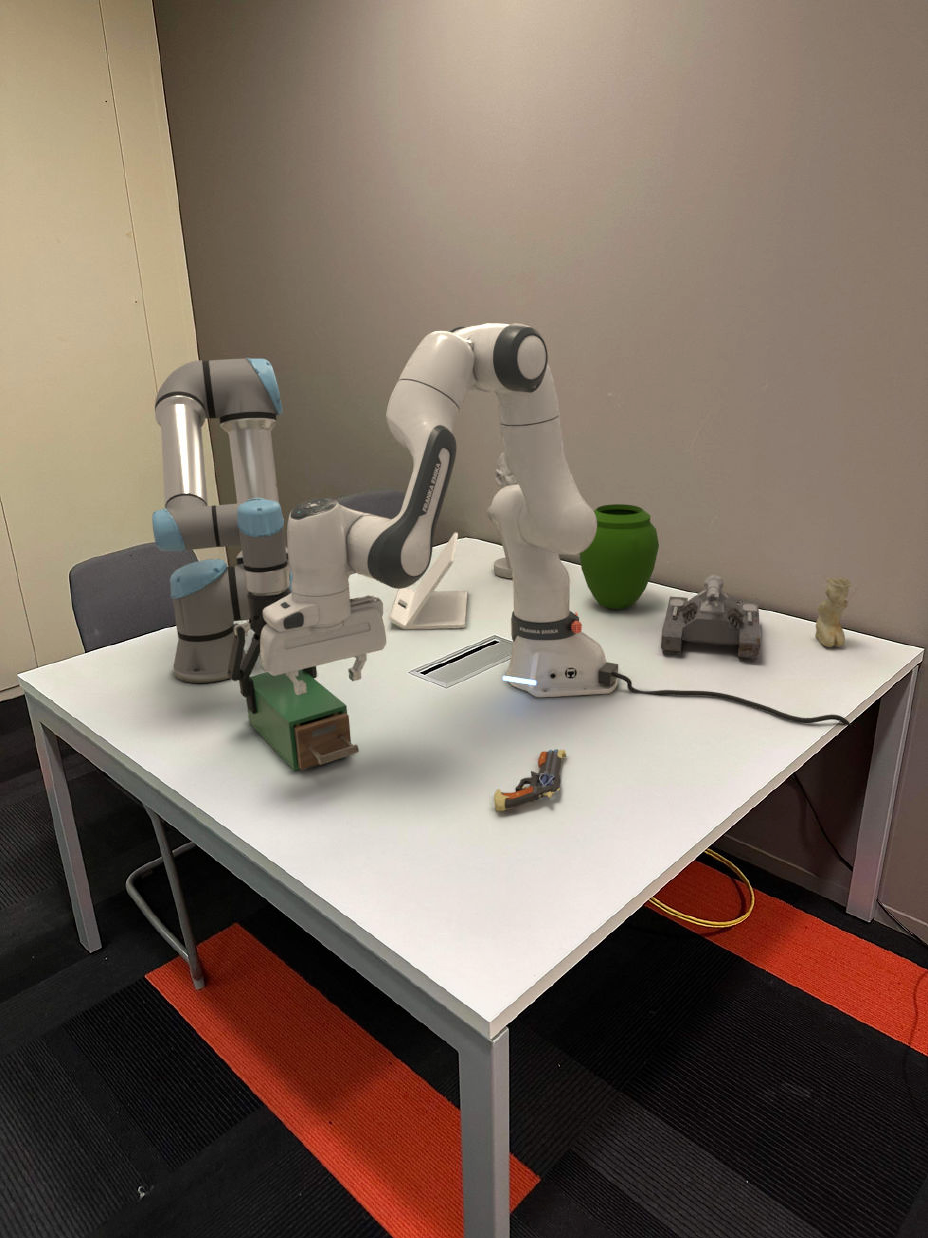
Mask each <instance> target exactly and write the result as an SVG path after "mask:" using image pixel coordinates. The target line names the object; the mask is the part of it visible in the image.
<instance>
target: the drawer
mask: <svg viewBox="0 0 928 1238" xmlns="http://www.w3.org/2000/svg"><path fill="white" fill-rule="evenodd" d="M294 732H295V741H296V750H297V759H298V765H299V768H300V769H299V770H300V771H303V770H306V769H309V768H312V767H315V766H319V765H323V764H327V763H330V762H333V761H336V760H339V759H342V758H345V757H348V756H352V755H355V754H357V753H359V752H360V748H359V746H358V744H353V742H352V737H351V726H350V715H349V714H348V712H347V713H343V714H340V715H338V712H337V713H334V714H330V715H327V716H324V717H320V718H317V719H314V720H310V721H307V722H303V723H300V724H297V725H294Z"/></svg>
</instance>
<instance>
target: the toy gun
mask: <svg viewBox="0 0 928 1238" xmlns="http://www.w3.org/2000/svg"><path fill="white" fill-rule="evenodd" d="M564 758H567V750H565V749H558V748H555V749H554V750H553V749H548V750H547V751H541V752H540V753H539V757H538V759H537V766H538V768H539V771H538V772H536V771H532V770H530V776H531V777H523V778H521V779H520V780H519V783H518V784H517V786H516V787H515V789H514V790H515V791H513V792H503V791H501V789H499V788H498V789H497V790H496V791H495V793H494V796H493V802H494V808H495V810H496V811H497V812H503V811H506V810H510V809H513V808H518V807H521V806H523V805H526V804H529V803H534V802H535V801H539V800H541V799H543V798H545V797H548V799H551V798H552V797H553V795H555V793H556V792H557V791H560V790H561V783H562V782H561V781H562V779H561V774H560V773H561V768H562V763H563V759H564ZM539 784H540V785H539ZM525 785H529V786H525Z"/></svg>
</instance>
